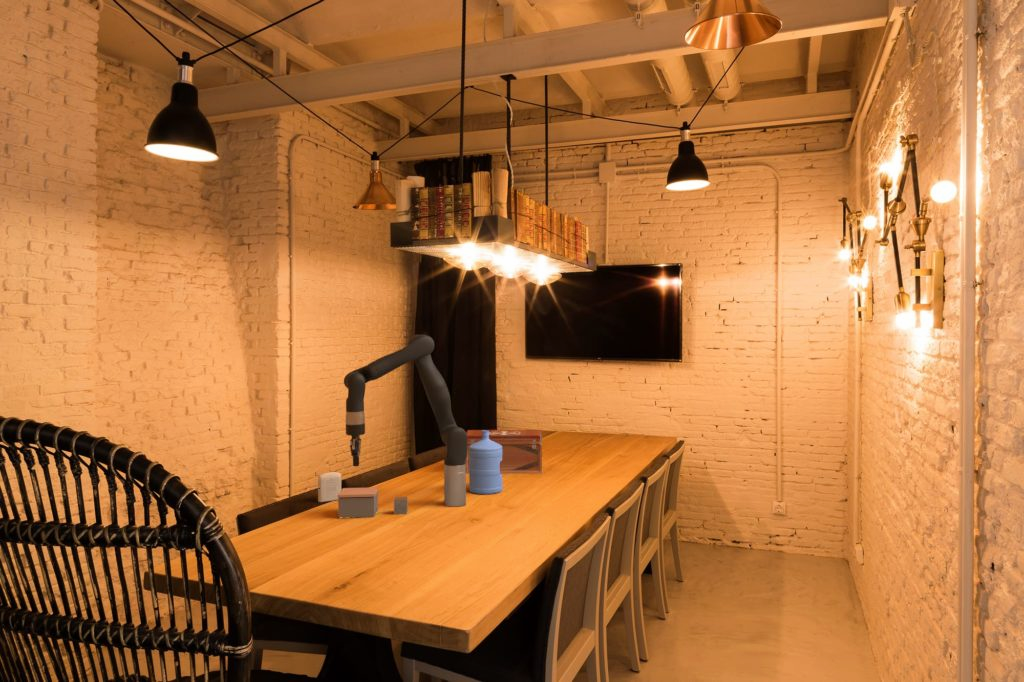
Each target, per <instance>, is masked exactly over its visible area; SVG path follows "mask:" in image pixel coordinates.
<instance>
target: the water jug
mask: <svg viewBox="0 0 1024 682" xmlns="http://www.w3.org/2000/svg"><path fill="white" fill-rule="evenodd" d="M481 430H482V440H480V441H478V442H476V443H474V444H472V445H470V446H469V474H468V477H469V478H468V479H469V481H468V482H469V483H468V484H469V485H468V490H469V492H470V493H472V494H474V495H475V494H476V495H494V494H499V493H501V492H502V491H503V489H504V485H503V475H502V474H500V462H501V461H502V454H503V453H502V446H501V445H500V444H498V443H496V442H494V441H492V440H490V439H489V430H490V429H481Z"/></svg>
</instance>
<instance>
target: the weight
mask: <svg viewBox="0 0 1024 682" xmlns="http://www.w3.org/2000/svg"><path fill="white" fill-rule="evenodd" d="M393 514H406V515H407V514H408V496H394V499H393Z"/></svg>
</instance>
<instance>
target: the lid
mask: <svg viewBox="0 0 1024 682" xmlns="http://www.w3.org/2000/svg"><path fill="white" fill-rule="evenodd" d="M377 491H378V492H379V487H377V486H376V487H374V486H373V487H343V488H341V491H340V492H339V494H338V495H337V498H340V497H375V495H376V493H377Z"/></svg>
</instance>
